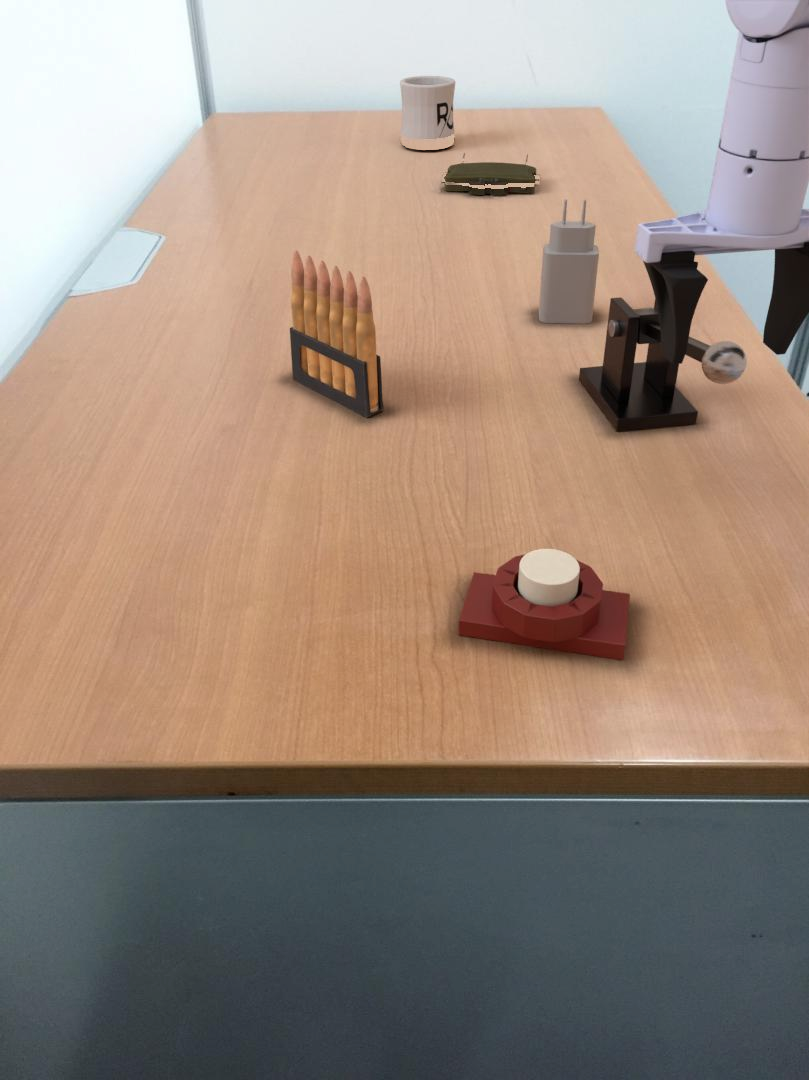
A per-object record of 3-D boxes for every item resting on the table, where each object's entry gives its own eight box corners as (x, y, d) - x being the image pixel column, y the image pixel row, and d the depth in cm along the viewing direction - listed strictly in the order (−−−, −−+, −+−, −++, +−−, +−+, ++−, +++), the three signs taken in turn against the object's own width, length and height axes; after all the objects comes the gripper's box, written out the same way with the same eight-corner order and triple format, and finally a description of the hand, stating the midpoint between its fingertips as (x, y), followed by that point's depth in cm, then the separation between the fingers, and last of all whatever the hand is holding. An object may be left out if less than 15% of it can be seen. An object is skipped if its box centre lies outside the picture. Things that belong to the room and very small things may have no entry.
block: (628, 600, 61) (634, 563, 60) (622, 668, 56) (628, 630, 55) (475, 579, 63) (476, 542, 62) (455, 643, 58) (456, 605, 57)
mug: (437, 155, 154) (438, 87, 148) (389, 148, 158) (388, 82, 152) (473, 139, 163) (475, 74, 157) (427, 133, 166) (427, 70, 161)
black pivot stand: (696, 424, 80) (714, 325, 75) (616, 432, 79) (629, 332, 74) (651, 373, 88) (665, 280, 83) (578, 379, 87) (587, 286, 82)
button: (580, 575, 59) (582, 552, 58) (574, 611, 57) (576, 588, 56) (522, 567, 60) (524, 544, 59) (513, 602, 57) (515, 579, 56)
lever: (752, 386, 67) (756, 343, 65) (711, 390, 66) (715, 347, 65) (654, 338, 82) (656, 303, 81) (621, 341, 81) (622, 306, 80)
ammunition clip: (384, 411, 83) (380, 276, 76) (368, 418, 82) (362, 282, 75) (308, 372, 89) (297, 245, 82) (292, 378, 88) (280, 250, 81)
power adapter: (592, 323, 98) (605, 204, 91) (539, 322, 98) (547, 204, 91) (590, 312, 100) (602, 195, 93) (538, 311, 101) (546, 194, 94)
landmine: (438, 175, 135) (450, 149, 147) (438, 194, 136) (450, 167, 148) (539, 178, 133) (543, 151, 145) (538, 197, 134) (542, 169, 146)
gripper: (839, 126, 63) (790, 321, 71) (629, 138, 60) (603, 337, 69) (903, 155, 57) (842, 363, 65) (675, 169, 55) (641, 382, 63)
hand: (723, 353), depth 66 cm, fingers open, 7 cm apart
